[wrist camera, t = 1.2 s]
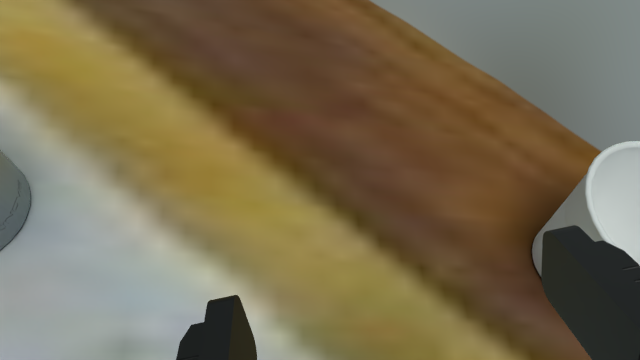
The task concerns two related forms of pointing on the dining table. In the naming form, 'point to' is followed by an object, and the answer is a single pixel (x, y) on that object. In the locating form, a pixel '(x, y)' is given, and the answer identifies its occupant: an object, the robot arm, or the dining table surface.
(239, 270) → the dining table surface
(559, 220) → the cup
